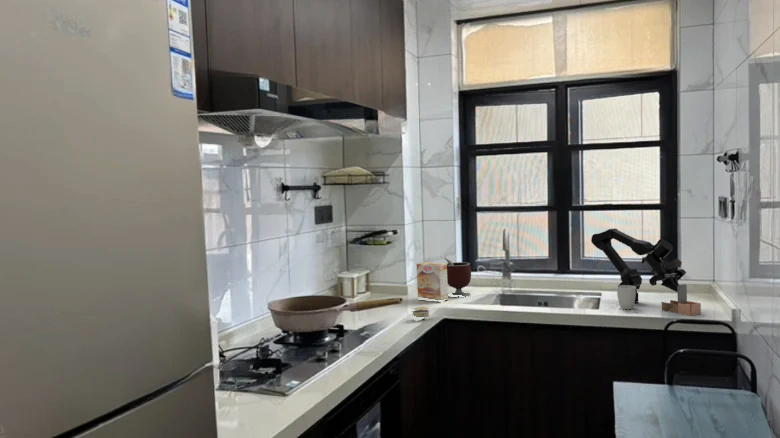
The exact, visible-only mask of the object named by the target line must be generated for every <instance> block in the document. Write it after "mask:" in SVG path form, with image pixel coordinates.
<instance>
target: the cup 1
mask: <svg viewBox="0 0 780 438" xmlns="http://www.w3.org/2000/svg"><path fill="white" fill-rule="evenodd" d="M636 290H637V289H636V287H635V286H629V285H621V286H618V285H617V286H616V295H617V299H618V304H619V307H620V309H621V310H623V309H627V310H626V311H630V310H629V309H632V310H634V306H635V304H636V303H635V297H636Z"/></svg>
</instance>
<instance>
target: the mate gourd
mask: <svg viewBox="0 0 780 438" xmlns="http://www.w3.org/2000/svg"><path fill="white" fill-rule="evenodd" d="M443 259H444V260H445V261H446V262H447V263H446V264H447V284H448V286H449V287H451V288H453V289H456V290H455V293H453V292H451V293H452V294H453V295H462V296H468V297H470V296H471V293H470V292H467V293H464V292H465V291H464V292H463V290H462V289H464V288H465V287H467V286H469V284H470V283H471V278H472V269H471V263H470V262H461V261H460V262H458V261H456V262H452V261H451V260H450V259H449V258H446V257H444V258H443ZM469 295H470V296H469Z"/></svg>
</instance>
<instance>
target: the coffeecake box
mask: <svg viewBox="0 0 780 438" xmlns="http://www.w3.org/2000/svg"><path fill="white" fill-rule="evenodd" d="M447 264H448V263H442V262H441V263H439V262H428V261H425V262H424V261H423V262H418V263H416V281H417V283H416V284H417V298H418V297H422V298H428V299H435V300H444V299H448V300H449V297H448V294H449V290H448V289H449V287H448V286H449V284H448V283H447Z"/></svg>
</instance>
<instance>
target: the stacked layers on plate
mask: <svg viewBox="0 0 780 438" xmlns="http://www.w3.org/2000/svg"><path fill="white" fill-rule="evenodd" d="M411 309H413V310H412V311H411V312H412V316H413V315H414V316H416V317H425V318H429V317H430V316H431V315H430V313H429V312H430V310H429V309H430V307H427V306H426V307H425V306H417V307H413V308H411Z"/></svg>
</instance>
